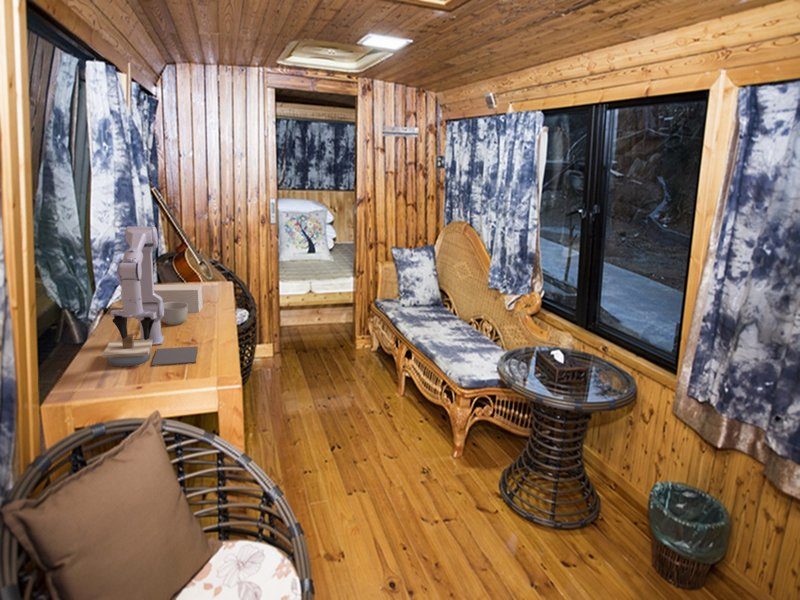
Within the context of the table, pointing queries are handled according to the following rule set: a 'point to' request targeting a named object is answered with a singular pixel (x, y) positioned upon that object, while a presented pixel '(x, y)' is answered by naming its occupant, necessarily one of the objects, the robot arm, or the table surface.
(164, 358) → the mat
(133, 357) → the bowl
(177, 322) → the teacup
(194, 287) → the pale grey long block
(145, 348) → the lid
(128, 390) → the table surface
